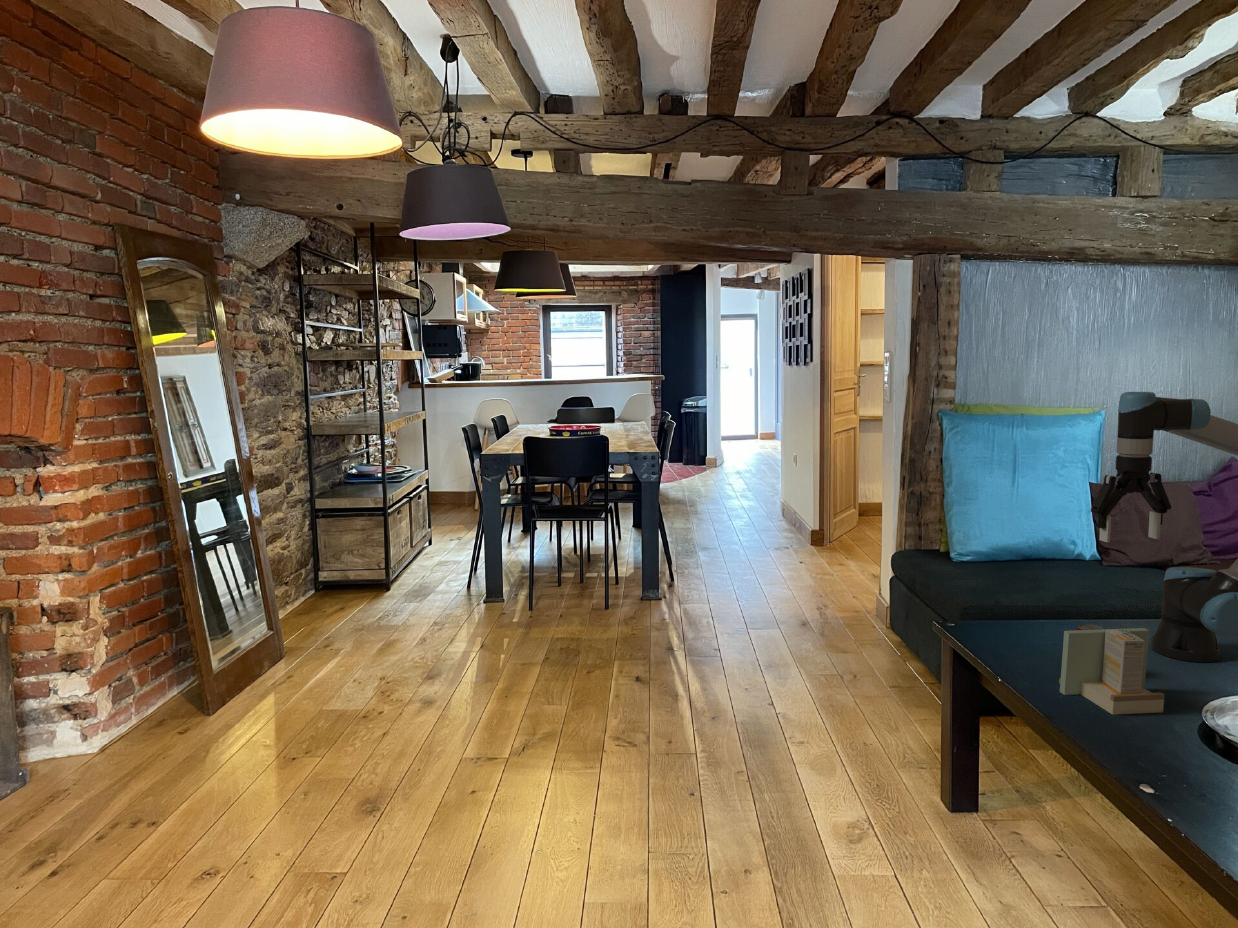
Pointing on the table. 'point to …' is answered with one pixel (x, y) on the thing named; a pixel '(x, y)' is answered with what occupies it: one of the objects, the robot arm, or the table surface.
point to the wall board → (1086, 674)
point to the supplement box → (1123, 661)
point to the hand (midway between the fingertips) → (1129, 539)
